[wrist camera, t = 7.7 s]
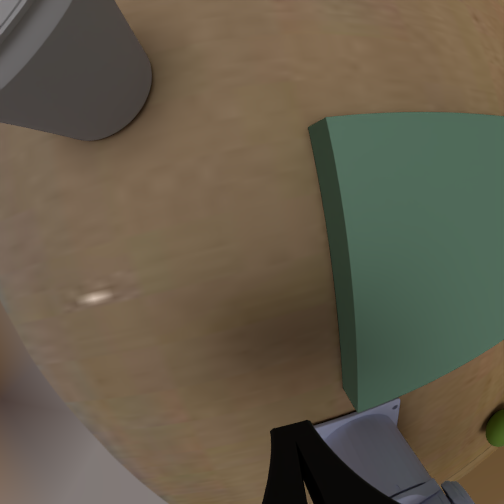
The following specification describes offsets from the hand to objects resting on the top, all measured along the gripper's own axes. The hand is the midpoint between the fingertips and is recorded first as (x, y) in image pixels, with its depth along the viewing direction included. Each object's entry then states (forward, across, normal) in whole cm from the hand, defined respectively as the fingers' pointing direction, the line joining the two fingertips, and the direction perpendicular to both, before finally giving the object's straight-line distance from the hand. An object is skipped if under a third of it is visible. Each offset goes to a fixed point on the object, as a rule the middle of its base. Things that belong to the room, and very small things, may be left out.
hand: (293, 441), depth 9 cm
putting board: (+9, -17, -2) cm, 20 cm away
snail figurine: (+10, -28, +26) cm, 39 cm away
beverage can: (+10, +6, -16) cm, 20 cm away
